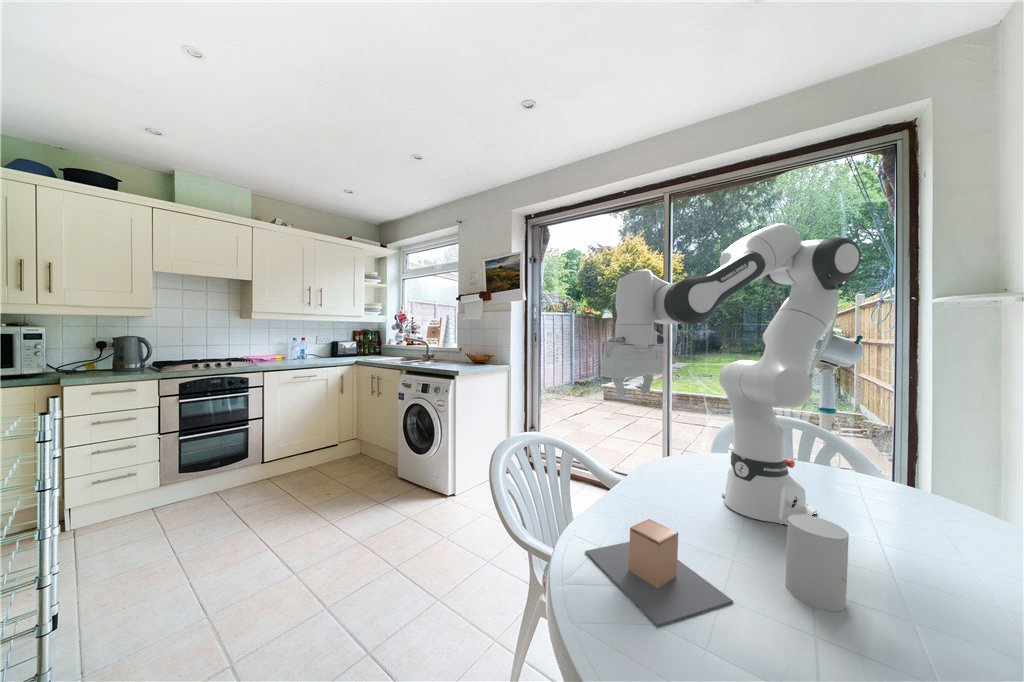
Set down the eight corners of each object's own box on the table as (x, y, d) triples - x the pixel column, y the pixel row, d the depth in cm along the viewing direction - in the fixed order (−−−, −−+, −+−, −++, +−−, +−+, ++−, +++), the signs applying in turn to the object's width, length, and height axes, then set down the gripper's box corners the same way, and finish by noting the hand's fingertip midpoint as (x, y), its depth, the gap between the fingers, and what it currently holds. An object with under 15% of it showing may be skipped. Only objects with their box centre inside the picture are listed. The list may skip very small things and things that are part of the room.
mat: (648, 539, 79) (649, 517, 79) (733, 603, 61) (734, 573, 61) (585, 552, 74) (586, 528, 74) (657, 627, 55) (658, 595, 55)
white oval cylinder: (858, 615, 59) (861, 541, 59) (801, 606, 60) (804, 534, 60) (826, 582, 67) (828, 517, 67) (776, 575, 68) (778, 512, 68)
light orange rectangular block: (647, 559, 71) (649, 519, 71) (676, 576, 67) (678, 532, 66) (628, 570, 68) (630, 527, 68) (657, 588, 63) (659, 542, 63)
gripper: (617, 336, 79) (617, 400, 79) (669, 337, 91) (668, 392, 91) (595, 337, 84) (594, 396, 84) (646, 337, 96) (646, 389, 96)
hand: (633, 394), depth 88 cm, fingers open, 8 cm apart
